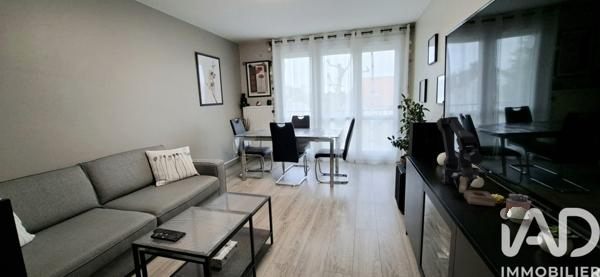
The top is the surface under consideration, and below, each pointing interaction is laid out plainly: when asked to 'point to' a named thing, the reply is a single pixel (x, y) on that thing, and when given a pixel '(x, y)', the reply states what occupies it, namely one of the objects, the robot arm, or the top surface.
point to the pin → (462, 184)
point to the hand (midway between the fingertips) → (462, 188)
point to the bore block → (479, 197)
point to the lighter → (517, 202)
